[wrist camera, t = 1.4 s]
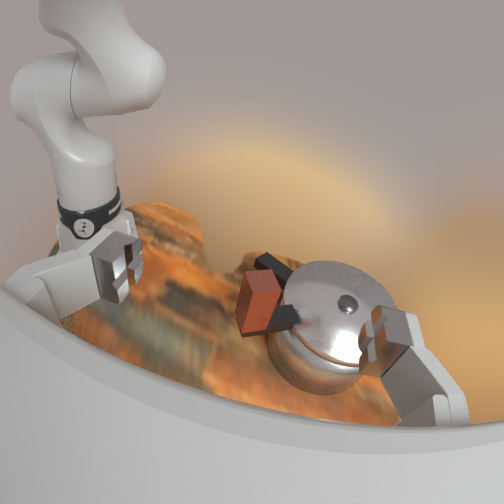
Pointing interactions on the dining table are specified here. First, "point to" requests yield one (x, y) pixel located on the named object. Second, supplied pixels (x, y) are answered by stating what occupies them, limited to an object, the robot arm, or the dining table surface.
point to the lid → (313, 307)
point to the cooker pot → (302, 350)
